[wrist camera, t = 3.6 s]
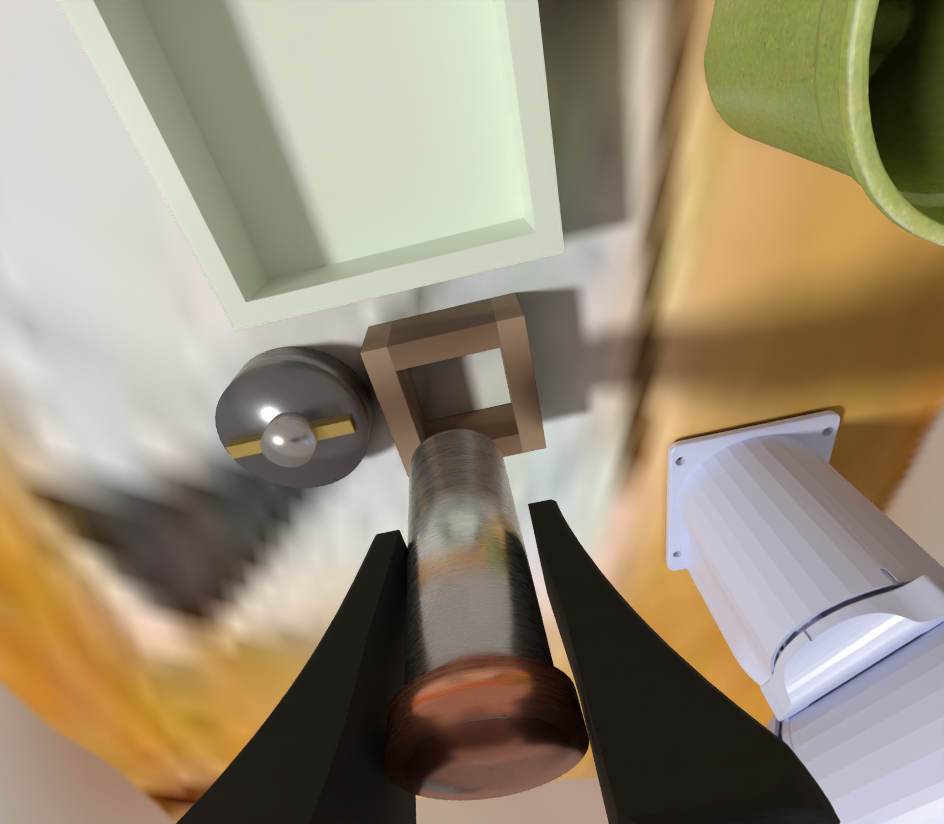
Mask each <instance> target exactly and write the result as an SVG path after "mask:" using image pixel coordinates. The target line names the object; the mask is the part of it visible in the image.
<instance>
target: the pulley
mask: <svg viewBox="0 0 944 824" xmlns="http://www.w3.org/2000/svg"><path fill="white" fill-rule="evenodd" d="M215 419H216V428H217V432H218V435H219V438H220V440H221V442H222V444H223V446H224V447H225V449H226V450H227V452H228V453H229V454H230V455H231V457H232V458H233V459H234V460H235V461H236V462H237V463H239V464H240V465H241V466H242V467H243V468H245V469H246V470H248V471H249V472H251V473H252V474H254V475H256V476H258V477H260V478H262V479H264V480H266V481H269V482H272V483H275V484H279V485H283V486H288V487H295V488H312V487H319V486H324V485H328V484H331V483H334V482H336V481H338V480H340V479H342V478H344V477H346V476H347V475H348V474H350V473H351V472H352V471H353V470H354V469H355V468H356V467H357V466H358V465H359V463H360V462H361V460H362V458H363V457H364V455H365V452H366V449H367V444H368V440H369V435H370V430H371V426H372V420H373V407H372V401H371V398H370V395H369V393H368V391H367V389H366V387H365V385H364V384H363V382H362V381H361V379H360V378H359V377H358V376H357V375H356V374H355V373H354V372H353V371H352V370H351V369H350V368H349V367H348V366H346V365H345V364H343V363H342V362H341V361H339V360H337V359H335V358H334V357H332V356H330V355H327V354H325V353H322V352H319V351H316V350H312V349H307V348H299V347H283V348H277V349H273V350H269V351H266V352H264V353H261V354H259V355H257V356H256V357H254V358H253V359H251V360H250V361H249V362H248V363H246V364H245V365H244V366H243V368H242V369H241V370H240V372H239V373H238V374H237V376H236V377H235V378H234V379H233V381H232V382H231V383H230V385H229V386H228V387H227V389H226V390H225V391H224V392H223V394H222V396H221V398H220V400H219V402H218V405H217V408H216V416H215Z"/></svg>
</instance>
